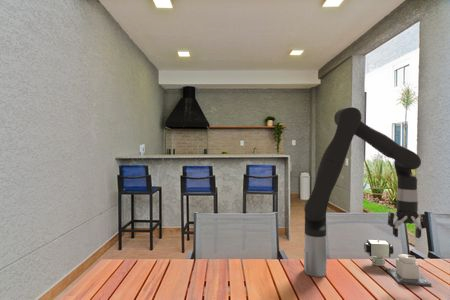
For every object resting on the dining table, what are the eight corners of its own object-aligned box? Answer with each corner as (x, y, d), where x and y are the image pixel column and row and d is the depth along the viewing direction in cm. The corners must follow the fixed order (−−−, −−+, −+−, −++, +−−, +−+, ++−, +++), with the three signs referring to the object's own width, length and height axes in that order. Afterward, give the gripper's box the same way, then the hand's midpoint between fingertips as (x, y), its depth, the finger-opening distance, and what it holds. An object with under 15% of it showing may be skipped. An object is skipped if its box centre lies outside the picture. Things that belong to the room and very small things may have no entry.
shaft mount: (398, 283, 113) (398, 269, 113) (385, 270, 126) (385, 257, 126) (431, 286, 111) (431, 271, 111) (414, 272, 124) (414, 258, 124)
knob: (402, 278, 116) (402, 257, 116) (395, 271, 122) (395, 252, 122) (418, 279, 115) (418, 258, 115) (411, 272, 121) (411, 253, 121)
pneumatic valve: (393, 267, 129) (393, 242, 129) (366, 265, 131) (366, 240, 131) (389, 263, 134) (389, 238, 134) (363, 261, 137) (363, 236, 137)
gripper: (392, 200, 116) (392, 239, 116) (430, 201, 114) (430, 241, 114) (385, 197, 124) (385, 233, 124) (420, 198, 121) (420, 235, 121)
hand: (406, 237), depth 119 cm, fingers open, 8 cm apart
